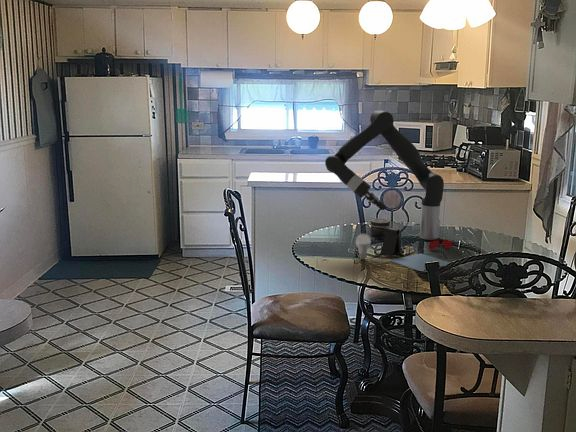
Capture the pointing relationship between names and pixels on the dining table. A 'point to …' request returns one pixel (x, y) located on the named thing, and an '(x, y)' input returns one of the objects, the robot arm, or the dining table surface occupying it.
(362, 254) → the light bulb
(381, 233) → the jar
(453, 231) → the dining table surface
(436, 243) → the glasses
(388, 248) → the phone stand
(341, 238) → the dining table surface
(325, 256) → the dining table surface
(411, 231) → the dining table surface
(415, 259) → the tray
